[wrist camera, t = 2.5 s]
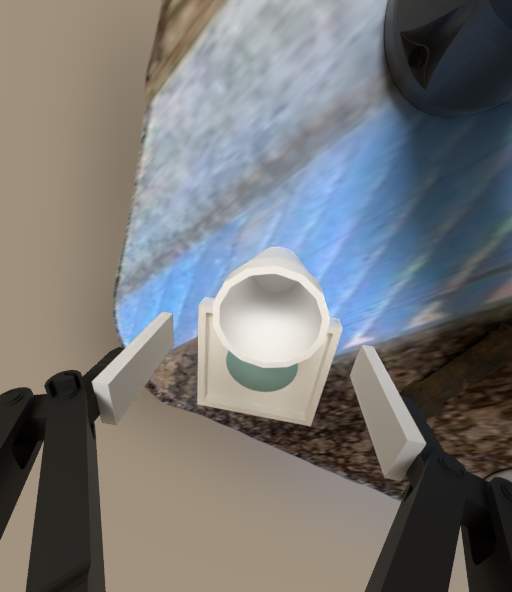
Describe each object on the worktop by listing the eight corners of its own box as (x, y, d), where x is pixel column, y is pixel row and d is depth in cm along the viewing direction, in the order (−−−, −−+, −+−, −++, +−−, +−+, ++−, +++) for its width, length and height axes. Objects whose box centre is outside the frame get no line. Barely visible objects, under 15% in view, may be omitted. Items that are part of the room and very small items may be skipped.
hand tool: (499, 315, 30) (533, 336, 25) (518, 333, 30) (555, 357, 26) (377, 393, 37) (388, 419, 33) (395, 406, 38) (407, 433, 34)
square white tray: (204, 296, 34) (198, 304, 31) (339, 318, 32) (342, 328, 30) (202, 392, 42) (197, 404, 39) (309, 412, 40) (310, 426, 38)
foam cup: (286, 314, 33) (284, 384, 21) (229, 280, 32) (194, 334, 20) (329, 259, 29) (356, 307, 17) (265, 218, 28) (248, 240, 16)
